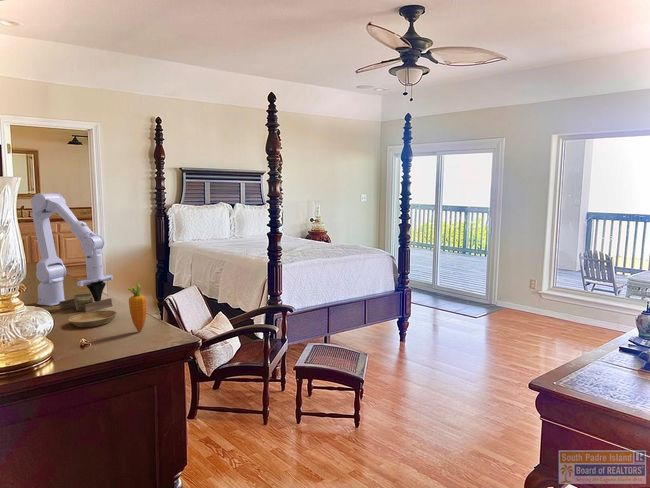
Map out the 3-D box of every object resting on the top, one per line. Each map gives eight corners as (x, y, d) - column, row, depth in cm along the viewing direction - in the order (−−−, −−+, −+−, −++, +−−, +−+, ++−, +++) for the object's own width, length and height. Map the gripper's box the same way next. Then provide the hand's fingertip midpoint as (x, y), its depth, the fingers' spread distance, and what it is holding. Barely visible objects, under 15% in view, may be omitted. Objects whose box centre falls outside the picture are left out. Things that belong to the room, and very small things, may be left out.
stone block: (77, 312, 175) (75, 299, 174) (74, 307, 185) (73, 294, 184) (94, 310, 178) (93, 297, 177) (91, 304, 188) (89, 292, 187)
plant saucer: (70, 332, 150) (69, 324, 150) (67, 322, 162) (66, 314, 162) (120, 324, 158) (120, 316, 157) (113, 315, 170) (113, 308, 170)
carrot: (137, 334, 144) (134, 286, 142) (127, 332, 147) (123, 285, 145) (151, 330, 148) (148, 283, 146) (141, 328, 151) (137, 282, 149)
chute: (60, 309, 180) (59, 301, 180) (86, 302, 190) (85, 295, 190) (86, 312, 174) (85, 304, 173) (112, 306, 183) (111, 298, 183)
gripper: (84, 270, 176) (87, 306, 178) (117, 264, 189) (120, 297, 191) (72, 269, 180) (75, 304, 181) (105, 263, 192) (108, 296, 194)
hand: (97, 301), depth 186 cm, fingers closed
